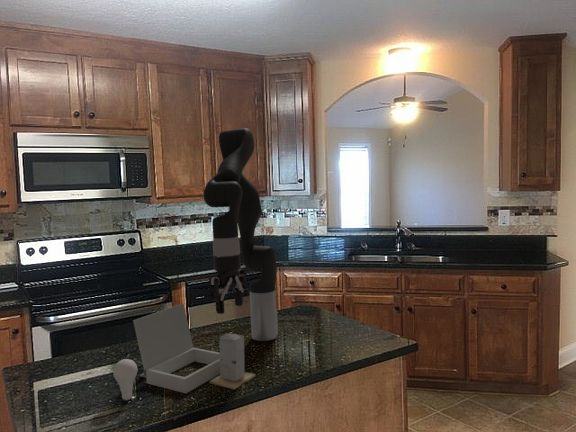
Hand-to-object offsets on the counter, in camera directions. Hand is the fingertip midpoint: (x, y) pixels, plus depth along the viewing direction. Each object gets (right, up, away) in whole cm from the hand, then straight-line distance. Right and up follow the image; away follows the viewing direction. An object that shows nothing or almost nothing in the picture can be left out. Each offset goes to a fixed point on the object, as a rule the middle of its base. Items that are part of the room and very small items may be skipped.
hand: (230, 309), depth 139 cm
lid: (-21, -10, +10) cm, 25 cm away
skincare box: (+1, -20, +2) cm, 20 cm away
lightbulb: (-26, -23, -9) cm, 36 cm away
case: (-12, -21, +6) cm, 25 cm away
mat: (+1, -21, +2) cm, 21 cm away
